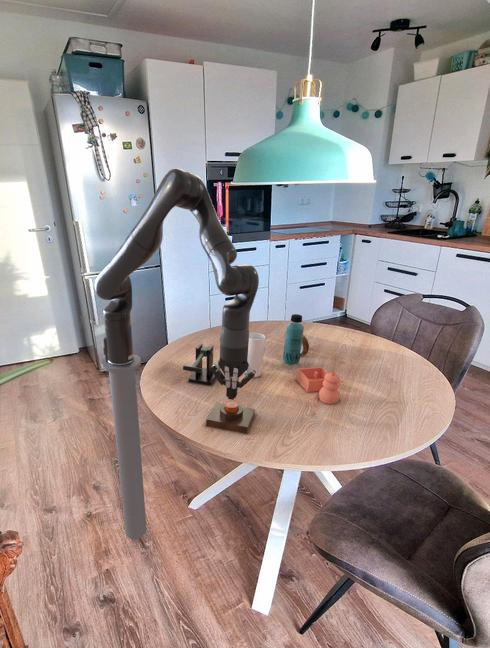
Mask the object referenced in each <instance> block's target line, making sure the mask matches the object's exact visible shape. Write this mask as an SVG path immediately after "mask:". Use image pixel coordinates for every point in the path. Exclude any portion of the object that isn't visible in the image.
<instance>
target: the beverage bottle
mask: <svg viewBox="0 0 490 648" xmlns="http://www.w3.org/2000/svg"><path fill="white" fill-rule="evenodd" d="M302 322H303V316H302V314H299V313H298V314H297V313H294V314H291V316H290V323H289V324H287V325H286V330H285V333H286V339H285V338H284V343H283V344H284V347H283V353H282V354H283V355H282V356H283V357H282V361H283V364H286V365H290V366H295V365H298V364H299V363H300V361H301V355H300V353H301V348H302V347H301V346H302V338H303V335H304V330H305V326H303V324H301V323H302Z"/></svg>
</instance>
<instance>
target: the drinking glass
mask: <svg viewBox="0 0 490 648" xmlns="http://www.w3.org/2000/svg"><path fill="white" fill-rule="evenodd" d="M266 338H267V337H266V335H265V334H263V333H260V332H249V345H248V359H247V361H248V364H249V368H250V369H251V370H255V371H256V373H255V375H254V377H253V378H259V377H260V376H261V375H262V366H263V361H264V354H265V349H266ZM246 373H247V371H245V374H246Z"/></svg>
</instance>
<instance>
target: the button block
mask: <svg viewBox="0 0 490 648" xmlns="http://www.w3.org/2000/svg"><path fill="white" fill-rule="evenodd" d="M226 403H227V402H226ZM226 403H225V402H218V401H217V402H215V404H214V406H213V407H212V408H211V410H210V413H209V414H208V416H207V417H206V419H205V426H206V427H210V428H215V429H221V430H225V431H230V432H236V433H241V434H246V435H247V434H249V431H250V428H251V426H252V423H253V421H254V418H255V416H256V415H255V414H256V408H252V407H248V406H247V407H246V406H242V405H241V404H239V403H237V404H238V411H237V412H235V413H230V412H227V411H226V410H225V404H226Z"/></svg>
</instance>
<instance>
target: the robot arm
mask: <svg viewBox="0 0 490 648" xmlns="http://www.w3.org/2000/svg"><path fill="white" fill-rule="evenodd" d="M174 208H180V209H183V210H188V211H189V212H190V213H191V214H192V215H193V216H194V218H195V219H196V220H197V223H198V226H199V227H198V228H199V229H198V237H199V241H200V244H201V247H202V249H203V251H204V252H205V254H206V256H207V258H208V260H209V261H210V263H211V268H212V271H213V274H214V280H215V285H216V287H217V290H219V291H220V292H221V294H223V295H225V296H226V297H227V296H228V297H232V296H234V298H233V299H231V300H230V301H228V302H226V303H224V305H223V307H222V314H221V329H220V337H219V359H218V361H217V363H213V365H212V367H211V368H210V370H211V371H212V373H213V374H214V376H215V377H216V378H215V379H216V380H217V382H218V383H219V384H220V385H221V386H225V387H226V389H225V390H226V392H225V396H226V398H227V399H228V400H230V401H234V400H235V399H236V398H237V396H238V390H239V389H242V388H244V386H246V385H247V384H248V383H249V382H250V381H251V380H252V379H253V378H255V377H254V375H255V373H256V371H255V370H251V369H250V368H249V364H248V361H247V359H248V345H249V333H250V316H251V315H250V314H251V310H252V307H253V304H254V301H255V298H256V296H257V292H258V289H259V285H260V277H259V273H258V271H257V269H256V268H255V267H254V266H253V265H251V264H237V265H232V264H233V263H234V262H235V261H236V259H237V257H238V252H237V249H236V247H235V245H234V244H233V242H232V240H231V239H230V237H229V236H228V234H227V232H226V230H225V228H224V227H223V225H222V223H221V221H220V219H219V217H218V214H217V211H216V209H215V206H214V204H213V201H212V199H211V196H210V193H209V191H208V188H207V186H206V184H205V182H204V181H203V179H202V178H201V177H199V176H198V175H197V174H195V173H191V172H189V171H187V170H183V169H181V168H177V167H175V168H172V169H170V170H169V171H168V172H167V173H165V175H164V176H163V178H162V179H161V180H160V183H159V185H158V187H157V189H156V191H155V192H154V194H153V197H152V198H151V200H150V202H149V204H148V205H147V207H146V208H145V210H144V212H143V213H142V215H141V216H140V218H139V219H138V221H137V222H136V224H135V225H134V226H133V228H132V229H131V230H130V232H129V233H128V235H127V236H126V238H125V240H124V241H123V243H121V244H122V245H120V247H119V249H118V250H117V251H116V252H115V254H114V255H113V257H112V259H110V261H109V262H108V263H107V264H106V266H105V267H103V269H102V270H101V271H100V272H99V273H98V274H97V276H96V278H95V281H94V291H95V293H96V295H97V297H98V298H100V299H102V300H104V301H109V303H108V304H107V305H106V306H105V307H104V308H103V310H102V313H103V315H102V316H103V323H104V324H103V325H104V333H105V337H103V338H102V339H103V348H102V350H103V355H104V358H105V359H106V362H107V363H109V364H110V365H113V366H125V365H129V364H131V363H133V362H134V354H135V353H134V340H133V326H132V314H131V313H132V309H133V284H132V279H131V277H130V275H132V274H133V273H134V272H135V271H137V270H138V269H140V268H141V267H143V266H144V265H145V264H146V263H148V262H149V261H150V260H151V259H152V257H153V256H155V254H156V252H157V251H158V250H159V249H160V248H161V246H162V243H163V240H164V222H165V220H166V218H167V216H168V215H169V213H170V212H171V211H172V209H174ZM246 371H247V373H246ZM243 374H245V376H244V377H243V378H242V379H241V380H240V377H242V376H243Z"/></svg>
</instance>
